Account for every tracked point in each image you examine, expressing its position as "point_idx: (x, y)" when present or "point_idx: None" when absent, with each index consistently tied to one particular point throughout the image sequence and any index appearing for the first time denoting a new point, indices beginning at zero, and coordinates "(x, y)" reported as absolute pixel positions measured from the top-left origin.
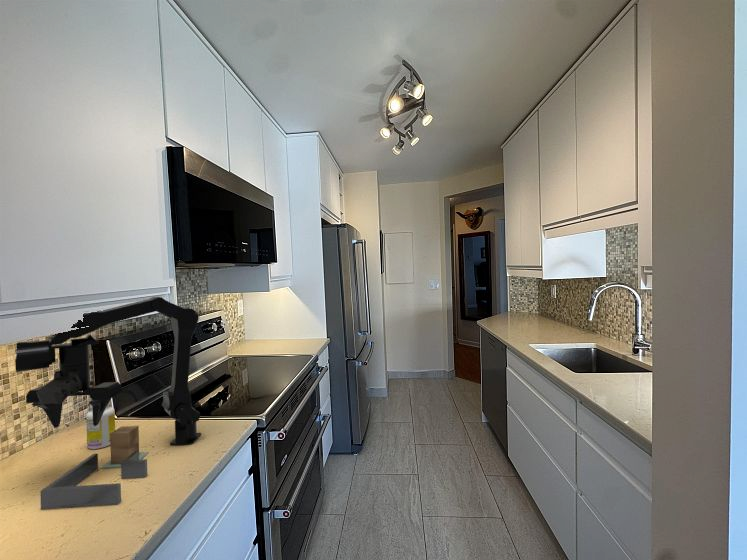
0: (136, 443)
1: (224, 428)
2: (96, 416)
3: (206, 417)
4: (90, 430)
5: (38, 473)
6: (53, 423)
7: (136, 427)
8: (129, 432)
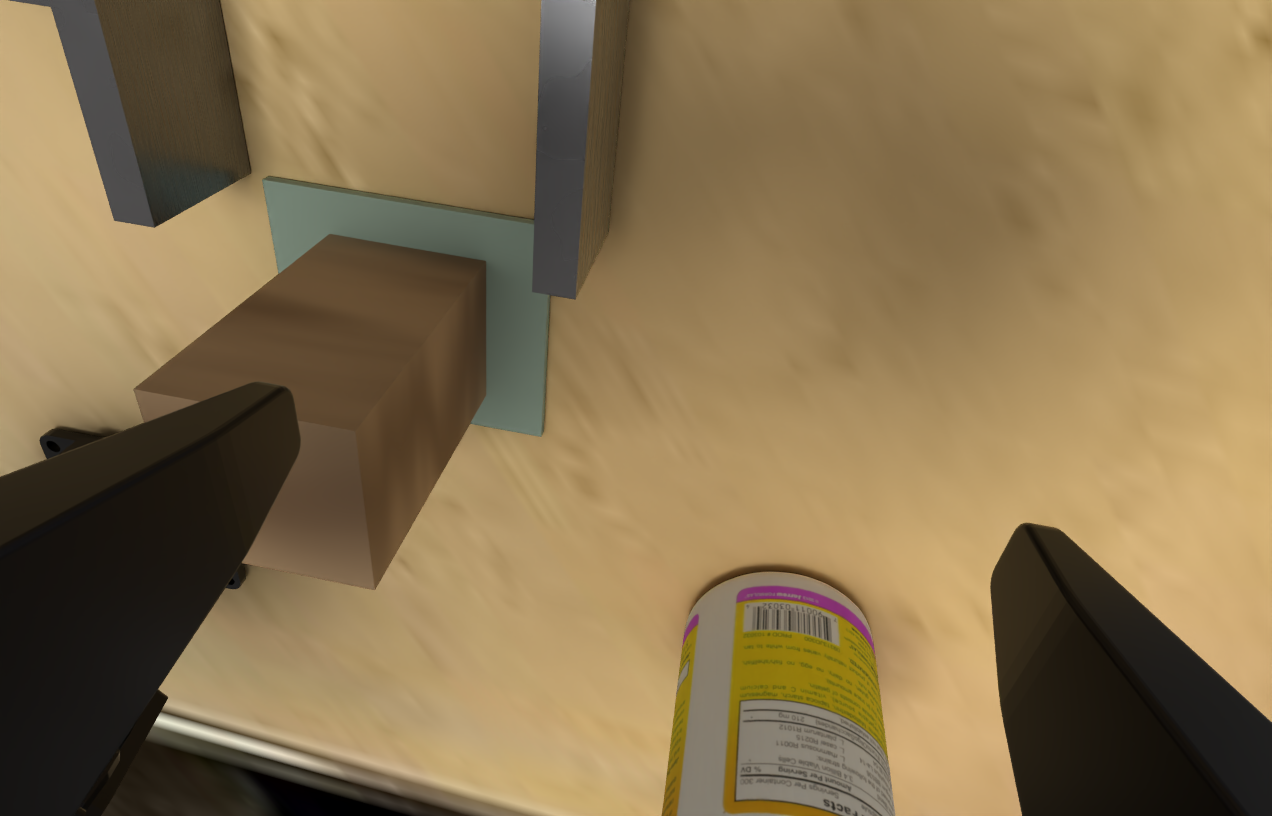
0: None
1: None
2: (36, 469)
3: (251, 752)
4: (825, 717)
5: (1113, 297)
6: (1092, 588)
7: None
8: (144, 408)
